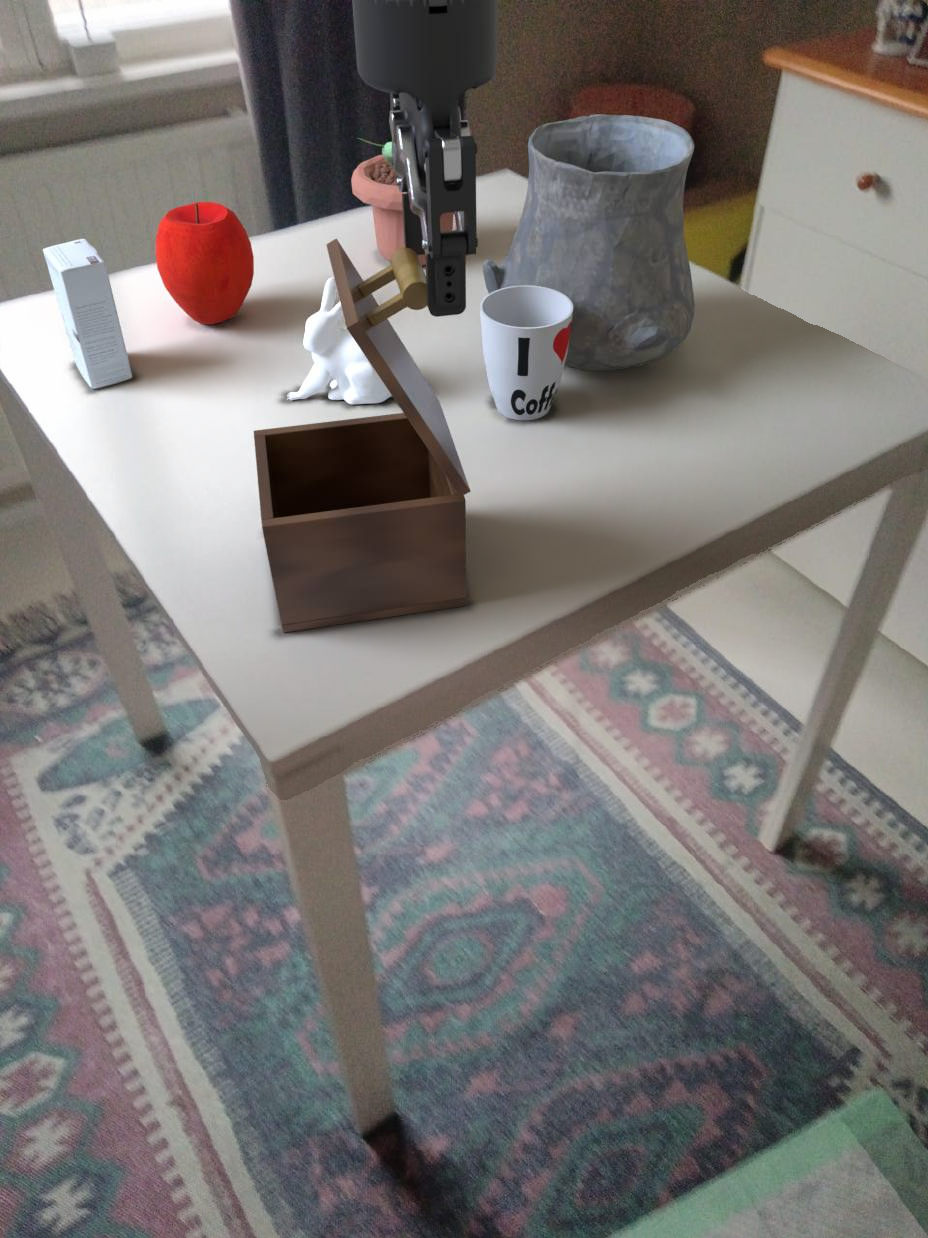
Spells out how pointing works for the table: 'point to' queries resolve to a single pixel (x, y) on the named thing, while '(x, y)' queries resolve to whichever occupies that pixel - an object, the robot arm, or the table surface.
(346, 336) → the rabbit figurine
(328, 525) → the chest
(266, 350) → the table surface
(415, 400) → the lid
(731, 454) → the table surface
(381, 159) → the decorative flower
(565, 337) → the cup
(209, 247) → the apple
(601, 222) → the vessel
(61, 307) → the cosmetic box
